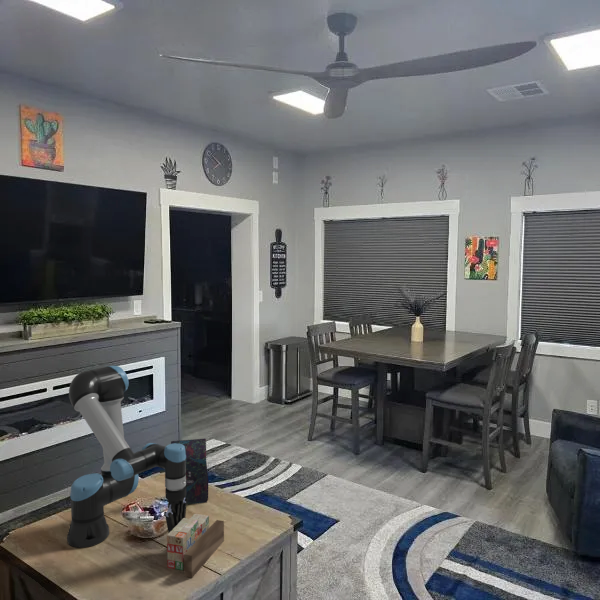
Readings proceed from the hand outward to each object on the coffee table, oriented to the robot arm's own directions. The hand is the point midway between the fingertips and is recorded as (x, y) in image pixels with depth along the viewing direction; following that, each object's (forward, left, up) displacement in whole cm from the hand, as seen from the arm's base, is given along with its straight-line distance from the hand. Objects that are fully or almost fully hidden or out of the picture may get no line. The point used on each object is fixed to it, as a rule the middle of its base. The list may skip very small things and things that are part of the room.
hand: (177, 547), depth 189 cm
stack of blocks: (+4, +1, -2) cm, 5 cm away
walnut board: (+12, 0, -2) cm, 12 cm away
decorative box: (-16, +37, -2) cm, 40 cm away
